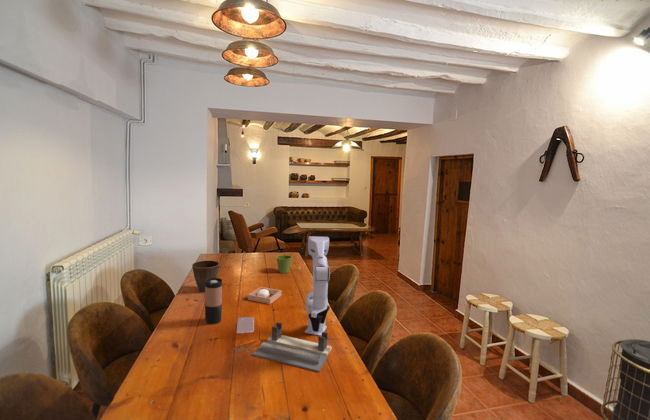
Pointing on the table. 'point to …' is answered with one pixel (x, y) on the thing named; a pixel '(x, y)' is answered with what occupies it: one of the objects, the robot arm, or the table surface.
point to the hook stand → (299, 342)
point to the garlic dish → (254, 297)
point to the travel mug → (213, 300)
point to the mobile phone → (245, 325)
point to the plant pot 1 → (204, 272)
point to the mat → (291, 359)
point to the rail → (291, 353)
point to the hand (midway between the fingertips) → (318, 327)
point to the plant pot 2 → (283, 263)
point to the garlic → (263, 293)
